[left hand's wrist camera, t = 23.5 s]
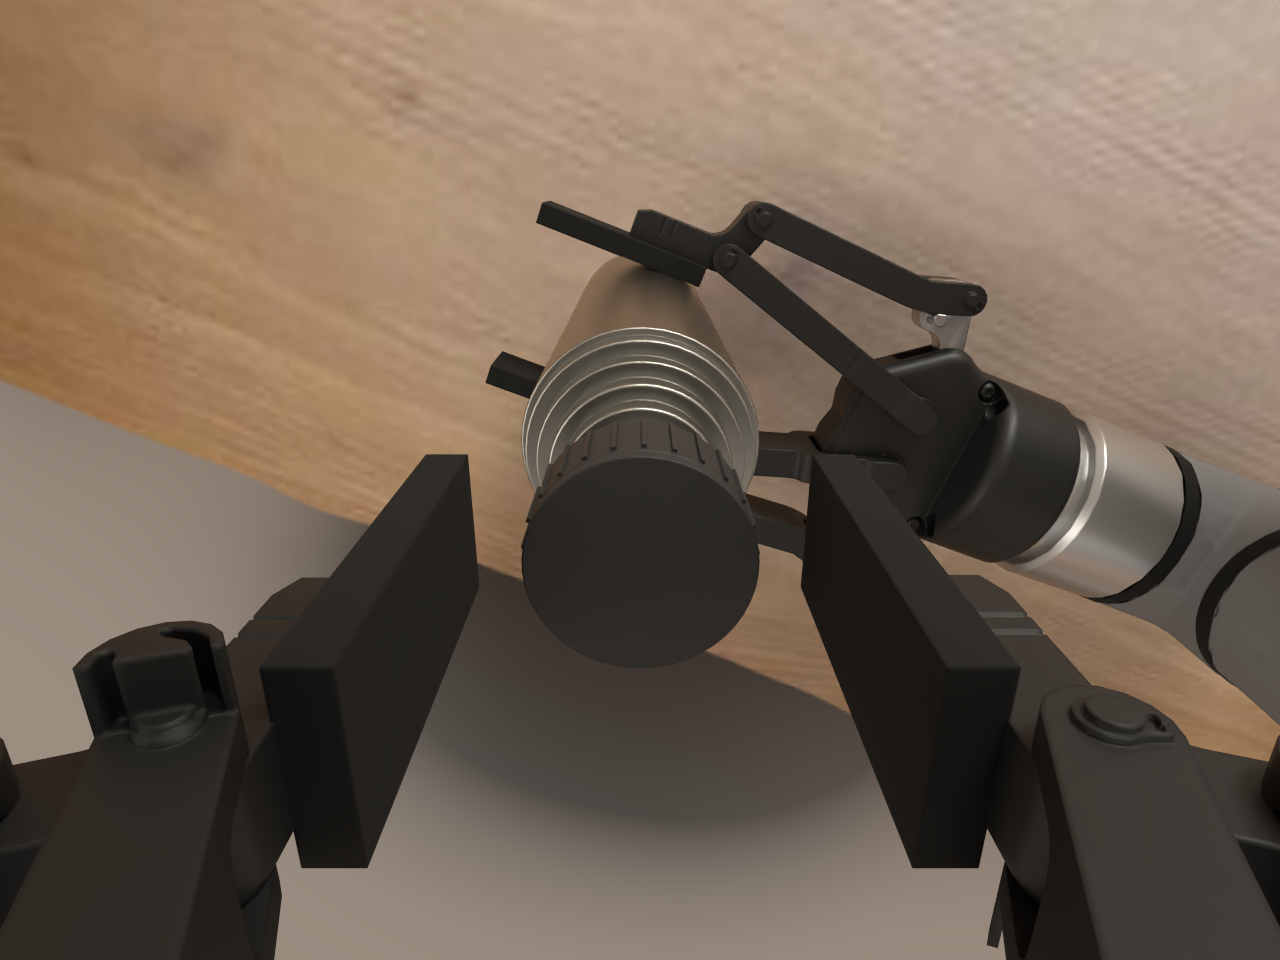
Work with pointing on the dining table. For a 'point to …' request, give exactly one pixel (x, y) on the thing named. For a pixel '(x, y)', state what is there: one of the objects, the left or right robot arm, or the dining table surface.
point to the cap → (640, 545)
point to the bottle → (639, 371)
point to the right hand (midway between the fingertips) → (519, 292)
